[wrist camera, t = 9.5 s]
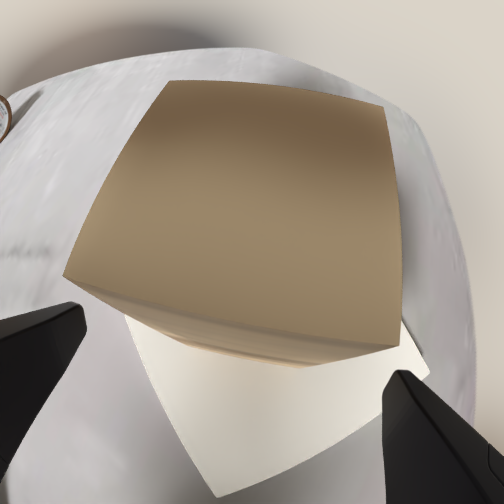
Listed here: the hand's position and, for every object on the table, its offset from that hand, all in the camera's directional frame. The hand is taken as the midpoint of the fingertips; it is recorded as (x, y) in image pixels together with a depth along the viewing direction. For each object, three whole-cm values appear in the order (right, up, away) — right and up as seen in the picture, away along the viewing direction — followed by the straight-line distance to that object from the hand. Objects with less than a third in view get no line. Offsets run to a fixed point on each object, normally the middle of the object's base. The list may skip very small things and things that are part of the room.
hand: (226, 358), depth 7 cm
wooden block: (+1, 0, +8) cm, 9 cm away
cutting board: (+1, -1, +10) cm, 10 cm away
